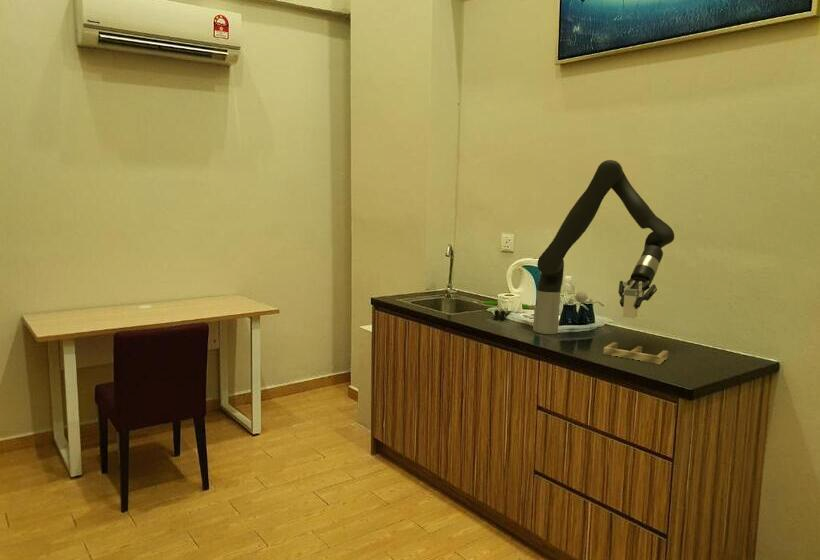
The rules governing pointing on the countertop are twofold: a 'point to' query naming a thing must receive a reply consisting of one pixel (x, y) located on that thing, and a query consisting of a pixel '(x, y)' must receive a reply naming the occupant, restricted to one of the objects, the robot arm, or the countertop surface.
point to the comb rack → (635, 354)
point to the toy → (581, 298)
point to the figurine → (502, 311)
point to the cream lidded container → (630, 303)
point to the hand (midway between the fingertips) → (628, 306)
